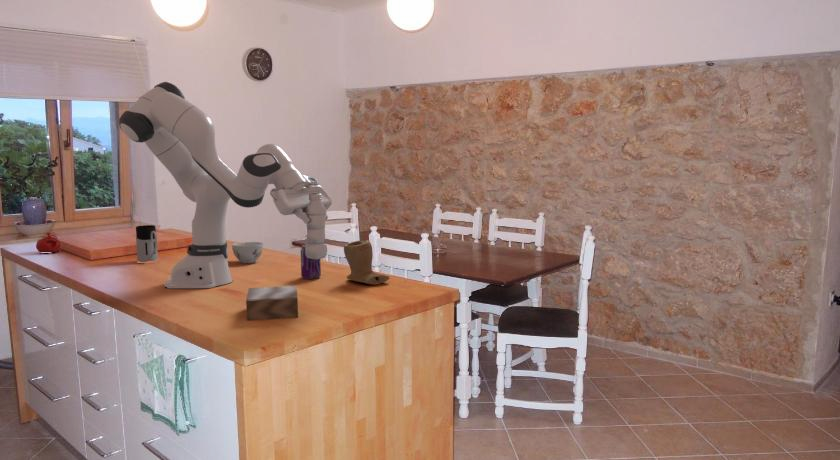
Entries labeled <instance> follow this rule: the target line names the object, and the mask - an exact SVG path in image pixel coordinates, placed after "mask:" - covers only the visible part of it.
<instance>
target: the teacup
mask: <svg viewBox="0 0 840 460" xmlns="http://www.w3.org/2000/svg"><path fill="white" fill-rule="evenodd" d="M231 248H232V251H233V252H232V253H233V254H234V257H235V258H236V259H237V260H238V261H240V263H241V264H244V263H248V264H254V263H256V261H258V260H259V258H260V256H261V254H262V252H263V248H264V243H263V242H259V241H248V242H247V241H246V242H235V243H232V244H231Z"/></svg>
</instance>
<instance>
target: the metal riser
mask: <svg viewBox="0 0 840 460" xmlns="http://www.w3.org/2000/svg"><path fill="white" fill-rule="evenodd" d="M298 299H299V298H298V289H297V285H282V286H267V287H265V286H264V287H248V290H247V294H246V299H245V302H246V303H245V304H246V305H245V306H246V321H262V320H263V321H264V320H276V319H277V320H278V319H292V318H299V304H298V303H299V301H298Z"/></svg>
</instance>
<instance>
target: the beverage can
mask: <svg viewBox="0 0 840 460" xmlns="http://www.w3.org/2000/svg"><path fill="white" fill-rule="evenodd" d="M305 246H306V244H303V245H301V249H300V271H301V272H300V273H301V274H300V275H301V278H303V279H306V280H314V279H319V277H321V276H322V274H321V273H322V268H321V266H322V265H321V264H322V263H321V259H310V258H307V256H306V254H305Z"/></svg>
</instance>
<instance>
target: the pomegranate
mask: <svg viewBox="0 0 840 460" xmlns="http://www.w3.org/2000/svg"><path fill="white" fill-rule="evenodd" d="M46 234H47V236H46V235H43V236H42V235H41V236H40V237H38V240H37V242H36V245H35V247H36V250H37V251H38V253H40V252H56V251H59V250H60V251H61V249H60V243H61V241H60V240H59V238H58V237H57V236H55V235H53V234H52V235H51V232H47V233H46ZM40 238H41V239H40ZM57 239H58V240H59V241H60V242H59V241H58V240H57ZM60 251H59V252H60ZM56 253H57V252H56Z"/></svg>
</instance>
